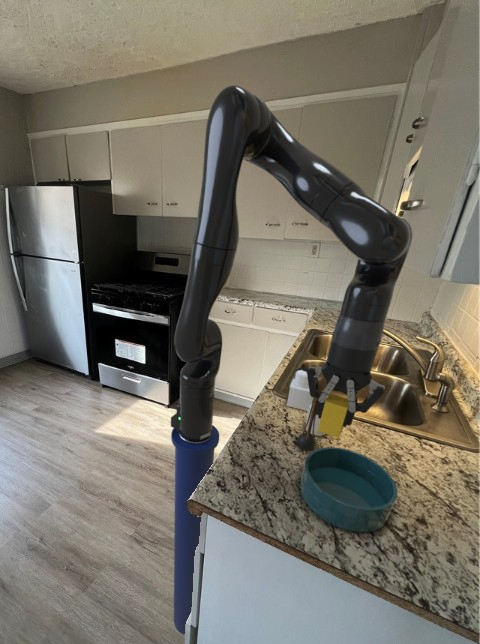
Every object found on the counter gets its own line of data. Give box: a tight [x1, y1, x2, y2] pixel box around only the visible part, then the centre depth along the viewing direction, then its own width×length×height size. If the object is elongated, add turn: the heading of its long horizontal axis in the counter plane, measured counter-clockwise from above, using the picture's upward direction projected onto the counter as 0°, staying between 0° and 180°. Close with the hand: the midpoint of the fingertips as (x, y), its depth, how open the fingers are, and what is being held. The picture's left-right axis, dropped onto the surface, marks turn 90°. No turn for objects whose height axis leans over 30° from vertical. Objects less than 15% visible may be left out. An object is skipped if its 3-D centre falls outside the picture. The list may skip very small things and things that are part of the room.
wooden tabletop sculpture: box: [295, 375, 328, 452], centre depth 78 cm, size 6×5×20 cm
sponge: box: [318, 392, 348, 439], centre depth 62 cm, size 4×4×7 cm
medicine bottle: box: [286, 367, 313, 412], centre depth 98 cm, size 7×7×12 cm
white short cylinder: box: [305, 403, 326, 437], centre depth 87 cm, size 7×7×7 cm
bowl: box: [299, 446, 398, 533], centre depth 66 cm, size 17×17×6 cm
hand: (332, 420), depth 63 cm, fingers closed on sponge, 4 cm apart
